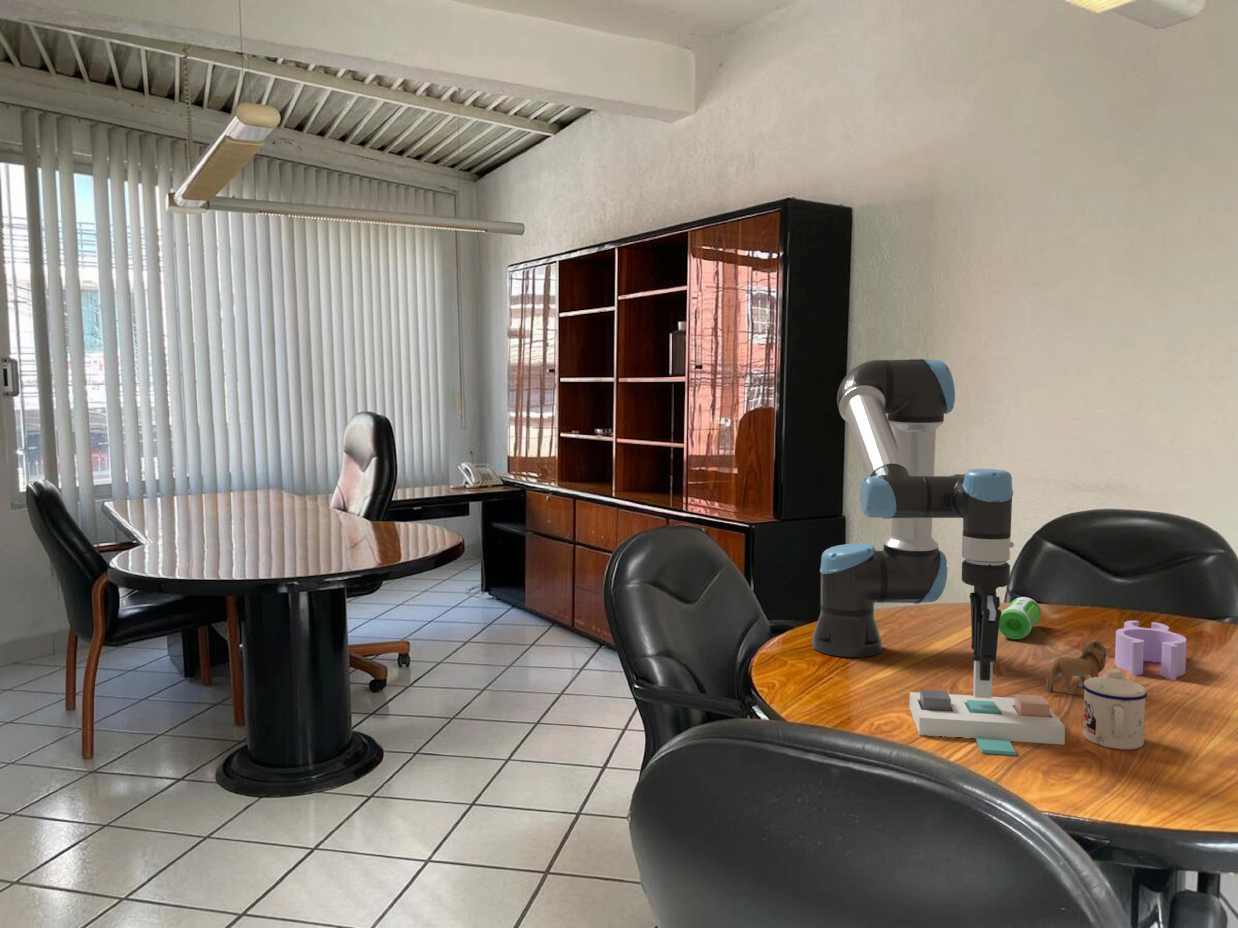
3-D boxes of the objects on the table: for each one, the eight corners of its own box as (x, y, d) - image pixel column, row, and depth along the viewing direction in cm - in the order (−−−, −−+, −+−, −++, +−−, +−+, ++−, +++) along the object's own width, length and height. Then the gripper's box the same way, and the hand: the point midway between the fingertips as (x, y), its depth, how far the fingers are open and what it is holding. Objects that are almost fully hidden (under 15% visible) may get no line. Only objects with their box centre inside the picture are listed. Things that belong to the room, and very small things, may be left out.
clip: (1111, 648, 194) (1112, 618, 194) (1177, 655, 189) (1178, 624, 188) (1117, 674, 176) (1118, 640, 176) (1190, 682, 171) (1191, 647, 170)
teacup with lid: (1079, 726, 148) (1080, 659, 147) (1140, 734, 144) (1143, 665, 143) (1085, 752, 137) (1087, 680, 136) (1152, 761, 133) (1155, 687, 132)
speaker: (1009, 623, 217) (1010, 593, 217) (1041, 627, 213) (1042, 596, 212) (995, 639, 203) (996, 607, 202) (1029, 643, 199) (1030, 611, 198)
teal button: (966, 717, 151) (966, 699, 151) (993, 719, 150) (993, 701, 150) (971, 726, 147) (971, 708, 147) (999, 728, 146) (999, 710, 146)
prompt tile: (975, 740, 142) (975, 737, 142) (1008, 743, 141) (1008, 739, 141) (982, 753, 137) (982, 749, 137) (1016, 755, 136) (1016, 751, 136)
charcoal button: (919, 706, 153) (920, 689, 153) (946, 708, 152) (946, 690, 152) (923, 715, 148) (923, 697, 148) (950, 717, 148) (950, 699, 147)
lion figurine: (1087, 680, 172) (1088, 635, 172) (1113, 688, 167) (1114, 642, 167) (1037, 692, 166) (1038, 645, 165) (1062, 700, 161) (1064, 652, 160)
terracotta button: (1014, 712, 150) (1015, 694, 149) (1042, 714, 149) (1042, 695, 148) (1021, 721, 145) (1021, 703, 145) (1049, 723, 144) (1049, 704, 144)
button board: (909, 708, 157) (909, 691, 157) (1042, 715, 153) (1042, 699, 153) (919, 734, 145) (919, 717, 144) (1064, 744, 140) (1065, 726, 140)
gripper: (1019, 569, 140) (1015, 711, 142) (1000, 554, 152) (997, 685, 154) (969, 567, 141) (966, 708, 143) (955, 553, 154) (952, 682, 156)
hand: (982, 696), depth 149 cm, fingers closed
